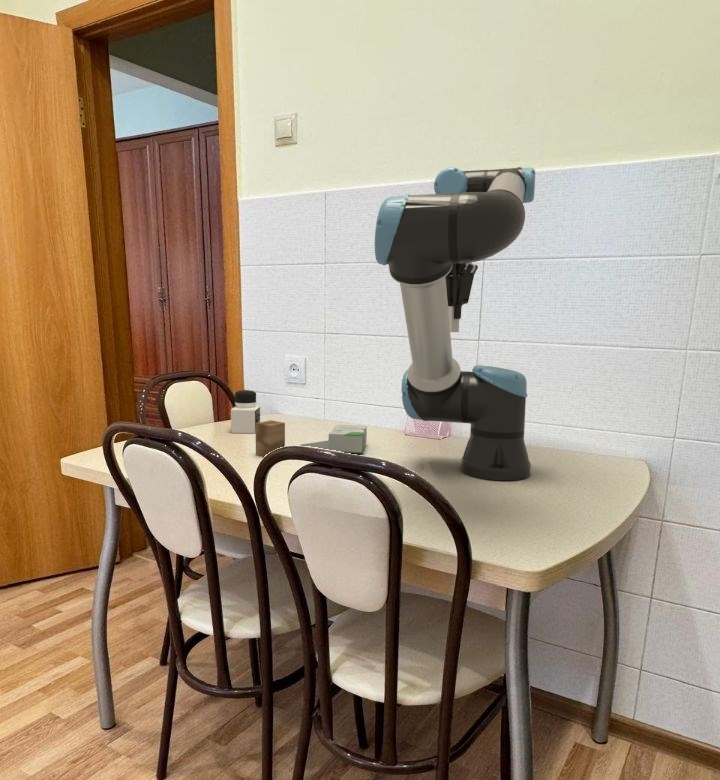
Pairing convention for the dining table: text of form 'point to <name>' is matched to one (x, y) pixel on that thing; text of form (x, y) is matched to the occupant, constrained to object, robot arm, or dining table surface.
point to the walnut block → (269, 436)
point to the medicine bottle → (245, 412)
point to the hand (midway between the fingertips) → (452, 332)
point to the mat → (318, 444)
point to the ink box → (348, 438)
